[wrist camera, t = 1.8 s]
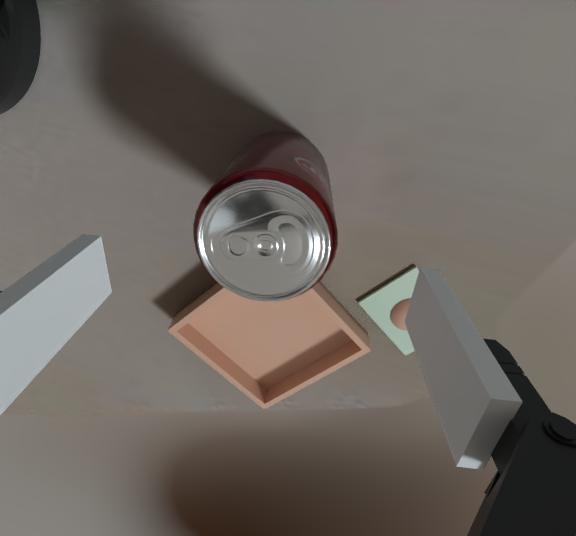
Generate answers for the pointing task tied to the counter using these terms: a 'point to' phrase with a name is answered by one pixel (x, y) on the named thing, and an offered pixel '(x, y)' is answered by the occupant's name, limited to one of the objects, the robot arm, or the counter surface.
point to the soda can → (269, 220)
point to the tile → (393, 308)
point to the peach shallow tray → (271, 339)
